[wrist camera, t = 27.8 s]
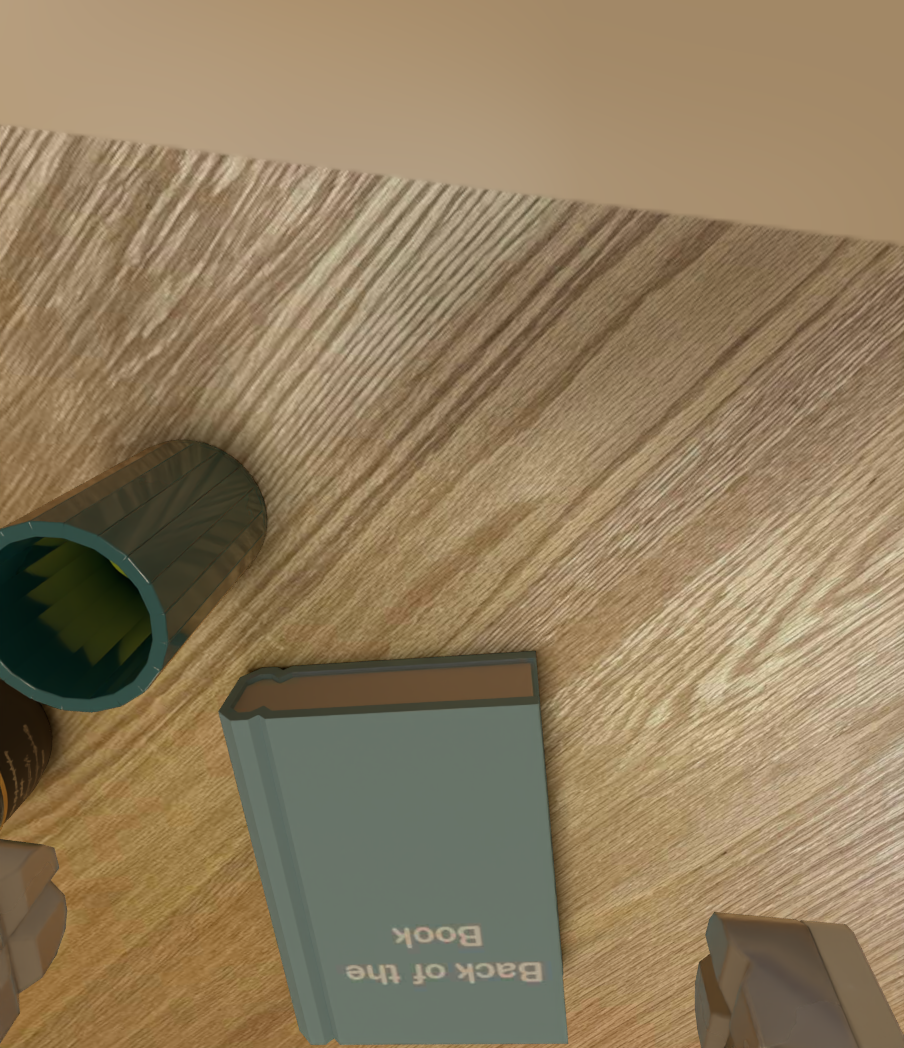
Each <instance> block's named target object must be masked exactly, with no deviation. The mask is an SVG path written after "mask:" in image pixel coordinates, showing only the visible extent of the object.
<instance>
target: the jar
mask: <svg viewBox="0 0 904 1048" xmlns="http://www.w3.org/2000/svg"><path fill="white" fill-rule="evenodd" d="M4 681H5V680H4ZM4 681H3V680H2V679H1V678H0V830H1V829H2V827H3V824H4V823H5V822H6V821H7V820H8V819H9V818H10V817H11V815H12V814H13V813H14V812H15V811H16V810H17V809H18V807H19V806H20V805H21V804H22V803H23V802H24V801H25V799H26V798H27V797H28V796H29V795H30V794H31V792H32V791H33V790H34V788H35V787H36V786H37V784H38V782H39V780H40V779H41V777H42V774H43V772H44V770H45V768H46V765H47V763H48V761H49V758H50V754H51V749H52V736H51V730H50V726H49V722H48V719H47V716H46V714H45V711H44V709H43V708H42V706H41V704H40V703H39V702H37V701H35V700H33V699H30V698H28V697H27V696H25V695H24V694H22V693H21V692H19V691H18V690H16V689H14V688H13V687H11V686H10V685H8V684H7V683H5V682H4Z"/></svg>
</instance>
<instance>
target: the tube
mask: <svg viewBox="0 0 904 1048" xmlns="http://www.w3.org/2000/svg"><path fill="white" fill-rule="evenodd" d="M266 529H267V515H266V508H265V504H264V500H263V497H262V495H261V492H260V490H259V488H258V486H257V484H256V483H255V481H254V479H253V478H252V477H251V475H250V474H249V473H248V471H247V470H246V469H245V468H244V467H243V466H242V465H241V464H240V463H239V462H238V461H236V460H235V459H234V458H233V457H231V456H230V455H228V454H227V453H225V452H224V451H222V450H220V449H218V448H216V447H213V446H211V445H208V444H205V443H201V442H197V441H191V440H173V441H166V442H163V443H160V444H157V445H154V446H152V447H149V448H147V449H145V450H143V451H141V452H139V453H137V454H136V455H134V456H132V457H130V458H128V459H126V460H125V461H123V462H121V463H119V464H117V465H115V466H114V467H112V468H110V469H108V470H106V471H105V472H103V473H101V474H99V475H97V476H95V477H94V478H92V479H90V480H88V481H86V482H85V483H83V484H81V485H79V486H77V487H75V488H74V489H72V490H70V491H68V492H66V493H64V494H63V495H61V496H59V497H57V498H55V499H54V500H52V501H50V502H48V503H46V504H44V505H43V506H41V507H39V508H37V509H35V510H34V511H32V512H30V513H28V514H26V515H24V516H23V517H21V518H19V519H17V520H15V521H13V522H12V523H10V524H8V525H6V526H4V527H3V528H1V529H0V678H1V679H2V680H3V681H4V680H5V681H4V682H5V683H7V684H8V685H10V686H11V687H13V688H14V689H16V690H18V691H19V692H21V693H22V694H24V695H25V696H27V697H28V698H30V699H33V700H35V701H37V702H40V703H43V704H46V705H49V706H52V707H55V708H58V709H61V710H62V709H63V710H66V711H80V712H98V711H103V710H107V709H112V708H116V707H121V706H122V705H125V704H126V703H128V702H130V701H131V700H133V699H134V698H136V697H138V696H139V695H141V694H143V693H144V692H145V691H146V690H147V689H148V688H149V687H150V686H151V685H152V683H153V682H154V681H155V680H156V678H157V677H158V676H159V675H160V674H161V672H162V671H163V670H164V669H165V668H166V666H167V665H168V664H169V663H170V662H171V660H172V659H173V658H174V657H175V655H176V654H177V653H178V652H179V651H180V649H181V648H182V647H183V646H184V645H185V643H186V642H187V641H188V640H189V639H190V637H191V636H192V635H193V634H194V632H195V631H196V630H197V629H198V628H199V626H200V625H201V624H202V623H203V622H204V620H205V619H206V618H207V617H208V616H209V614H210V613H211V612H212V611H213V609H214V608H215V607H216V606H217V605H218V603H219V602H220V601H221V600H222V599H223V597H224V596H225V595H226V594H227V593H228V591H229V590H230V589H231V588H232V587H233V585H234V584H235V583H236V582H237V580H238V579H239V578H240V577H241V576H242V574H243V573H244V572H245V571H246V570H247V568H248V567H249V566H250V564H251V563H252V562H253V561H254V559H255V558H256V556H257V555H258V553H259V551H260V549H261V547H262V545H263V542H264V539H265V535H266ZM110 561H112V562H113V563H115V564H116V565H117V566H119V567H120V569H121V570H122V571H123V572H124V573H125V574H126V576H127V577H126V576H124V575H123V574H122V573H120V572H119V571H118V570H117V569H116V568H115V567H114V566H113V565H112V563H111V562H110Z"/></svg>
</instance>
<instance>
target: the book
mask: <svg viewBox="0 0 904 1048" xmlns="http://www.w3.org/2000/svg"><path fill="white" fill-rule="evenodd" d="M218 712H219V716H220V720H221V724H222V728H223V732H224V736H225V739H226V743H227V747H228V751H229V755H230V759H231V763H232V767H233V771H234V775H235V779H236V783H237V787H238V791H239V795H240V798H241V802H242V806H243V810H244V814H245V818H246V822H247V826H248V830H249V834H250V838H251V842H252V846H253V850H254V853H255V857H256V861H257V865H258V869H259V873H260V877H261V881H262V885H263V889H264V893H265V897H266V901H267V905H268V909H269V912H270V916H271V920H272V924H273V928H274V932H275V936H276V940H277V944H278V948H279V952H280V956H281V960H282V964H283V967H284V971H285V975H286V979H287V983H288V987H289V991H290V995H291V999H292V1003H293V1007H294V1011H295V1015H296V1019H297V1023H298V1026H299V1030H300V1032H301V1033H302V1034H303V1035H304V1037H305V1038H306V1039H307V1040H308V1042H309V1043H310V1044H311V1045H326V1044H327V1043H329V1042H330V1041H331V1040H333V1039H334V1038H335V1040H336V1041H337V1042H338V1043H339V1044H340V1045H382V1044H568V1034H567V1022H566V1011H565V999H564V988H563V976H562V975H563V963H562V951H561V940H560V928H559V917H558V905H557V893H556V882H555V870H554V859H553V847H552V836H551V824H550V813H549V801H548V789H547V778H546V766H545V755H544V743H543V732H542V720H541V708H540V697H539V685H538V674H537V662H536V651H527V652H511V653H495V654H478V655H462V656H446V657H430V658H414V659H398V660H382V661H365V662H349V663H333V664H317V665H301V666H292V667H289V668H287V669H285V670H282V669H280V668H278V667H269V668H261V669H258V670H256V671H254V672H251V673H249V674H247V675H245V676H242V677H240V678H239V680H238V682H237V683H236V685H235V686H234V688H233V689H232V691H231V693H230V694H229V696H228V697H227V699H226V700H225V702H224V704H223V705H222V707H221V708H220V710H219V711H218Z"/></svg>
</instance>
